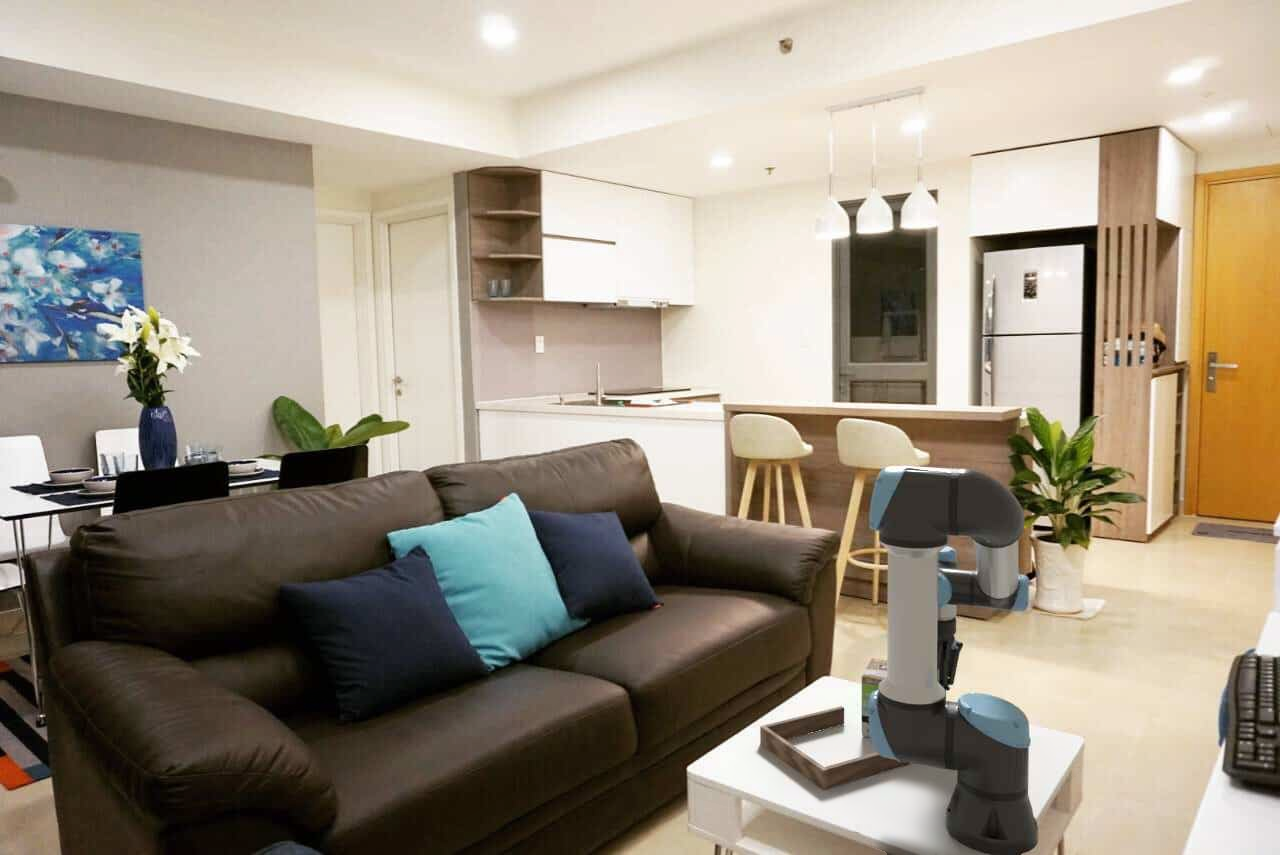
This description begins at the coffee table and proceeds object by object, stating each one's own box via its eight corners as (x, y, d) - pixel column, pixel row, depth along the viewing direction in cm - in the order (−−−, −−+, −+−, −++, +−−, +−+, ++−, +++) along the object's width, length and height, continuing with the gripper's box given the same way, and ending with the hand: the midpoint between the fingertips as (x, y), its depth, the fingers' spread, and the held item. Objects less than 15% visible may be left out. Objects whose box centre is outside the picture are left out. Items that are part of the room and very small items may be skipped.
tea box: (860, 738, 189) (859, 675, 187) (871, 716, 198) (870, 656, 195) (932, 752, 182) (932, 686, 180) (939, 729, 191) (939, 666, 188)
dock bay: (910, 764, 177) (910, 745, 177) (823, 790, 168) (823, 770, 167) (841, 723, 197) (841, 706, 196) (760, 743, 187) (760, 726, 187)
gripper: (947, 606, 198) (946, 704, 201) (904, 615, 193) (903, 716, 195) (973, 615, 191) (971, 717, 194) (928, 624, 186) (927, 729, 188)
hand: (937, 716), depth 194 cm, fingers closed
